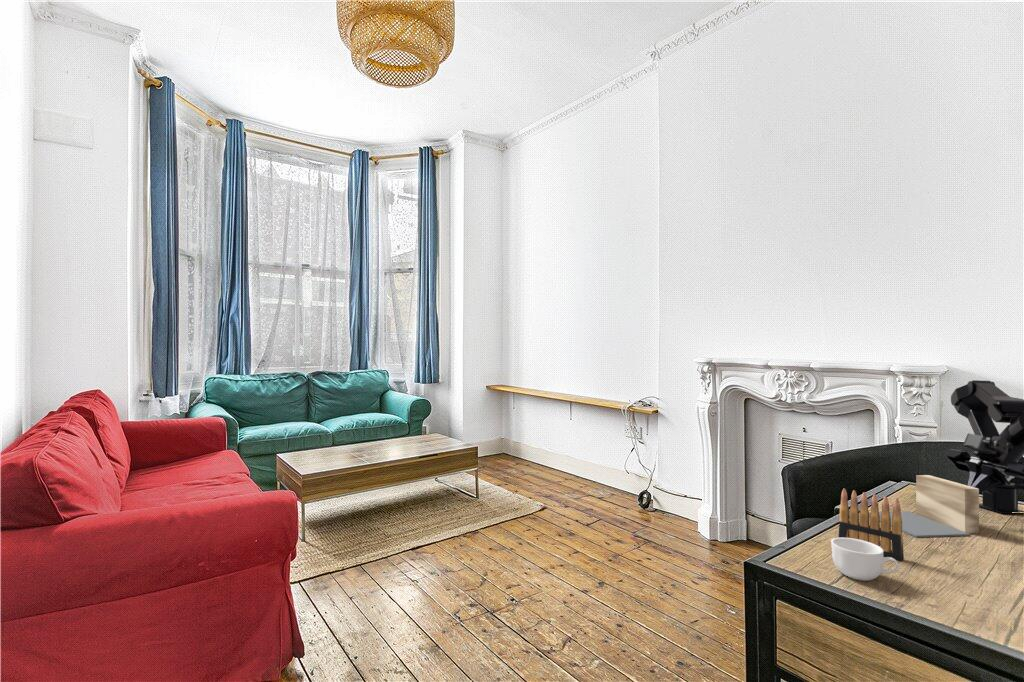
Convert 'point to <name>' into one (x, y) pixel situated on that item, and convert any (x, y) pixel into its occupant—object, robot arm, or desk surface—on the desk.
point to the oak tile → (948, 503)
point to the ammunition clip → (872, 524)
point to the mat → (925, 526)
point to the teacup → (859, 558)
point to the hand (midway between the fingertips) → (968, 493)
